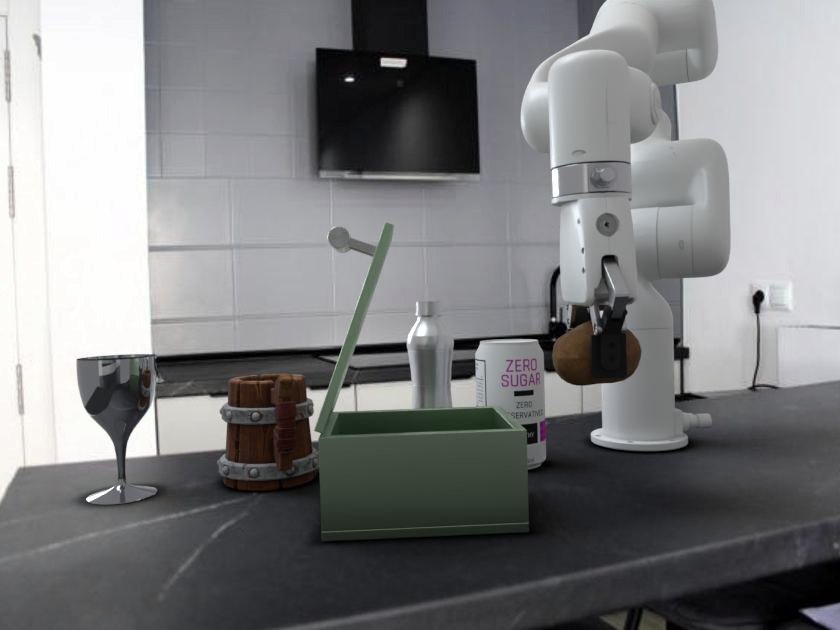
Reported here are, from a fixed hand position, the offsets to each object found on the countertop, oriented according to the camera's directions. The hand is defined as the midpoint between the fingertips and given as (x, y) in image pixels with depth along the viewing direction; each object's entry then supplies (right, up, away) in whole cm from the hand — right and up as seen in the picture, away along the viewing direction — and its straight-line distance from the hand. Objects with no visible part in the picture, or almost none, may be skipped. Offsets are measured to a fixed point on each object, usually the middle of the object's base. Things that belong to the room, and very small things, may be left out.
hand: (595, 370), depth 68 cm
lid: (-23, +4, -2) cm, 23 cm away
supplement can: (-6, -13, +17) cm, 22 cm away
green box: (-17, -13, -1) cm, 22 cm away
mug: (-34, -14, +12) cm, 38 cm away
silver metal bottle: (-15, -13, +26) cm, 33 cm away
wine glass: (-49, -14, +8) cm, 52 cm away
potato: (0, -1, 0) cm, 1 cm away
